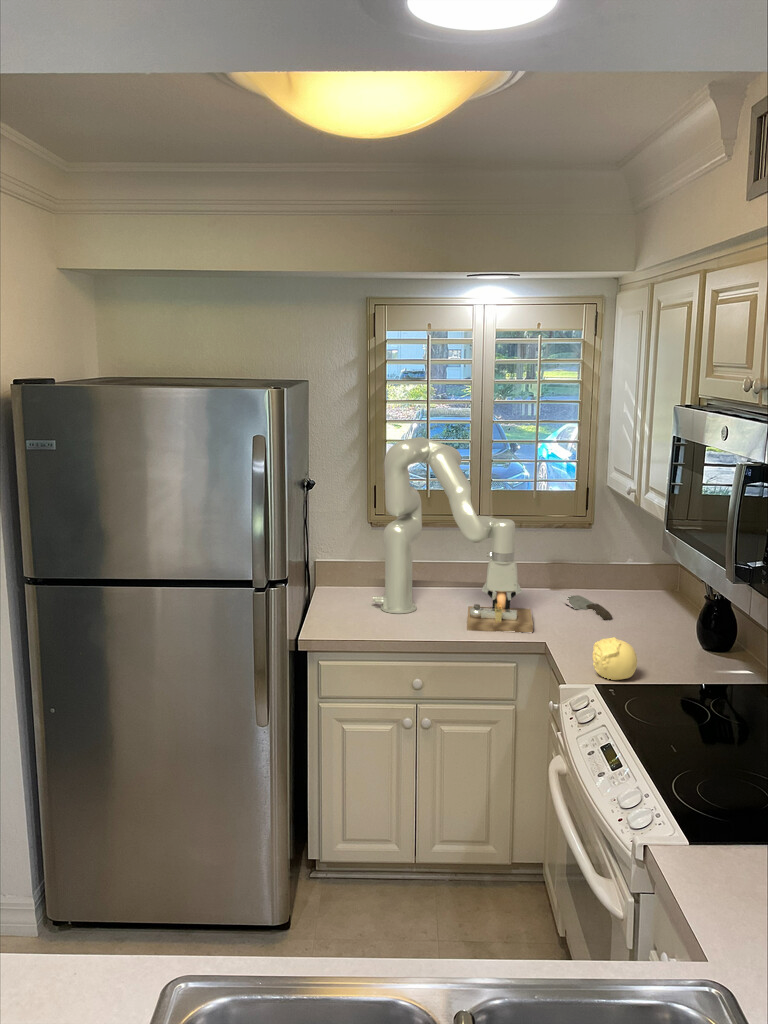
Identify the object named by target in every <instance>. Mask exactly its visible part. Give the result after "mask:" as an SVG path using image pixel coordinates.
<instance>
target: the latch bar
mask: <svg viewBox="0 0 768 1024" xmlns="http://www.w3.org/2000/svg"><path fill="white" fill-rule="evenodd" d="M470 617H473V618H492V619H495V609H489V608H480V609H474V607H472V608H470ZM502 619H507V620H516V619H517V610H504V609H502Z"/></svg>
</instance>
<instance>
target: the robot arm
mask: <svg viewBox="0 0 768 1024" xmlns="http://www.w3.org/2000/svg"><path fill="white" fill-rule="evenodd" d="M418 463H424V464H427V465H429V467H430V469H431V471H432V473H433V474H434V476H435V478H436V479H437V480H438V483H439V484H440V486H441V487H442V489H443V491H444V493H445V495H446V496H447V499H448V503H449V506H450V510H451V513H452V516H453V519H454V521H455V523H456V525H457V526H458V529H459V530H460V532H461V533H462V535H463V536H464V538H465V539H466V540H467V541H468V542H470V543H473V544H480V543H482V542H483V541H485V540H487V539H491V545H490V546H491V549H490V550H491V551H490V552H487V553H486V557H487V558H490V559H489V560H488V564H487V571H486V579H485V580H486V581H485V583H484V584H483V585H482V588H481V591H482V592H484V593H485V594H487V595H488V596H489V597H490V598H491V600H492V607H493V608H495V603H497V592H507V594H506V610H508V609H510V608H511V600H512V599H513V598H514V597H516V596H517V595H518V594H519V595H520V594H521V593H522V592H523V590H522V588H521V586H520V584H519V582H518V581H519V579H518V578H519V577H518V576H519V575H518V565H517V564H518V563H517V561H516V560H515V549H516V548H515V544H516V543H515V542H516V540H515V539H516V523H515V521H514V520H512V519H509V518H494V517H492V516H491V517H490V516H486V515H480V516H478V514H477V513H476V511H475V509H474V506H473V504H472V501H471V498H472V497H471V496H472V495H471V492H472V488H471V487H472V486H471V484H470V482H469V481H468V478H467V476H466V475H465V473H464V472H463V470H462V469H461V464H462V456H461V453H460V452H459V450H458V449H457V448H455V447H453V446H451V445H447V444H444V443H441V442H438V441H435V440H432V439H430V438H427V437H422V436H418V437H417V436H416V437H412V438H408V439H403V440H401V441H398V442H397V443H395V444H394V445H392V446H391V447H390V448H389V449H388V450H387V452H386V454H385V457H384V463H383V464H384V493H385V494H384V496H385V497H384V499H385V501H384V502H385V503H384V504H385V509H386V511H387V513H388V514H389V515H390V516H392V517H396V519H395V520H393V521H391V522H389V523H388V524H386V526H385V528H384V530H383V534H382V542H383V547H384V569H385V571H384V595H381V596H378V595H373V596H372V602H374V603H375V604H380V610H382V611H383V612H384V613H390V614H408V613H412V612H415V611H416V610H417V604H415V603H414V602H413V552H412V548H411V544H412V543H414V542H415V541H417V540H418V539H419V538H420V536H421V534H422V529H423V516H422V515H423V513H422V511H423V510H422V498H421V495H420V493H419V491H418V490H417V489H416V488H415V487H414V486H411V485H410V484H411V481H410V480H411V478H410V477H411V476H410V472H409V469H408V468H409V466H410V465H414V464H418Z"/></svg>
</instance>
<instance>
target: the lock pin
mask: <svg viewBox="0 0 768 1024" xmlns="http://www.w3.org/2000/svg"><path fill="white" fill-rule="evenodd" d="M506 597H507V592H496V598H497V603H502V609H504V610H506Z"/></svg>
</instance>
